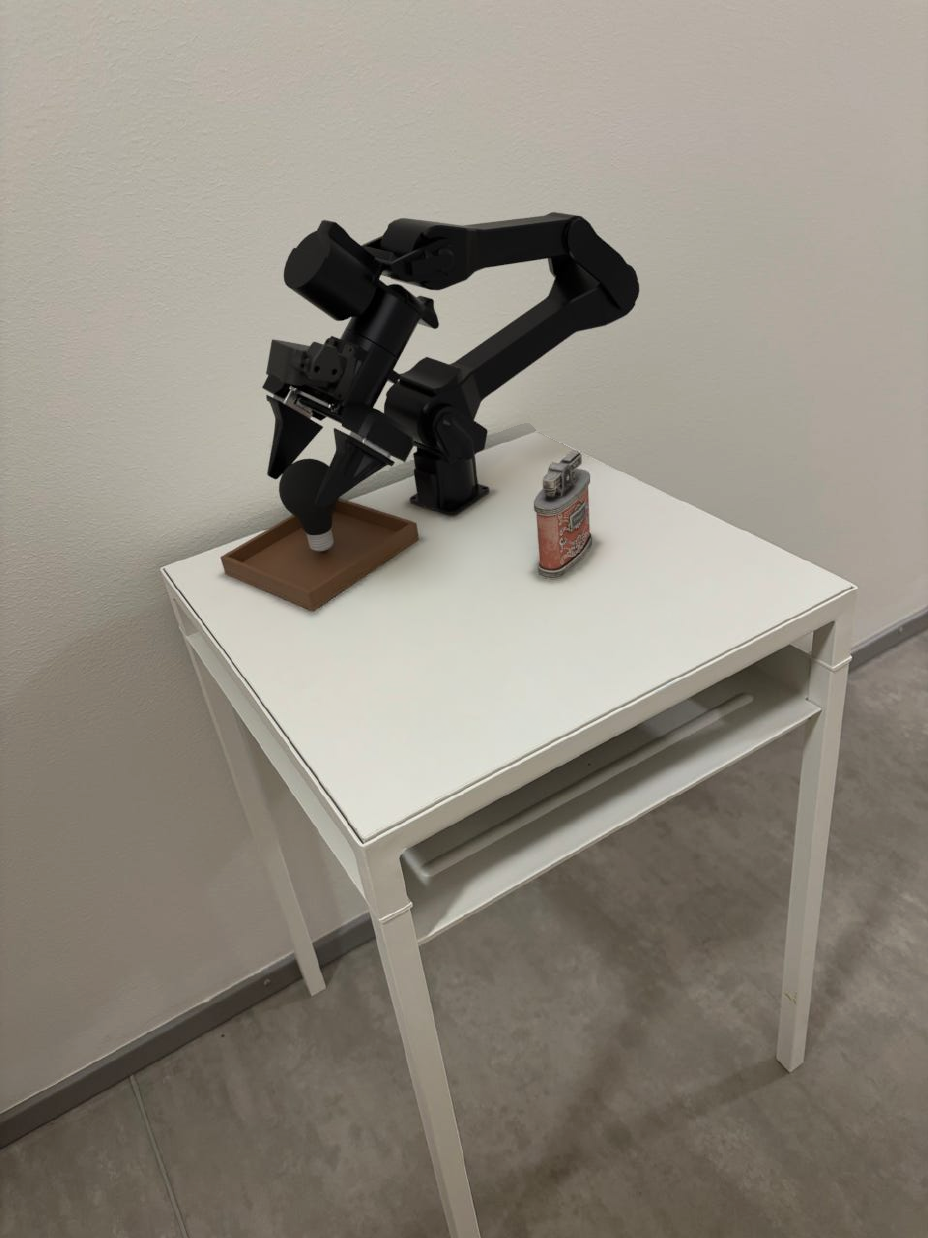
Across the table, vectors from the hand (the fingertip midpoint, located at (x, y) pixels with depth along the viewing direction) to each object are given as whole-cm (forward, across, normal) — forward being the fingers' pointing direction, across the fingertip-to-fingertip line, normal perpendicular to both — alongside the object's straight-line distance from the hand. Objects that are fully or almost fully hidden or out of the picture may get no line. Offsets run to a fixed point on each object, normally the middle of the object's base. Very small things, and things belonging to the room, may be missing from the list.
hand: (294, 491), depth 91 cm
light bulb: (+4, 0, +7) cm, 8 cm away
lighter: (-7, +18, +18) cm, 27 cm away
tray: (+5, 0, +7) cm, 8 cm away
